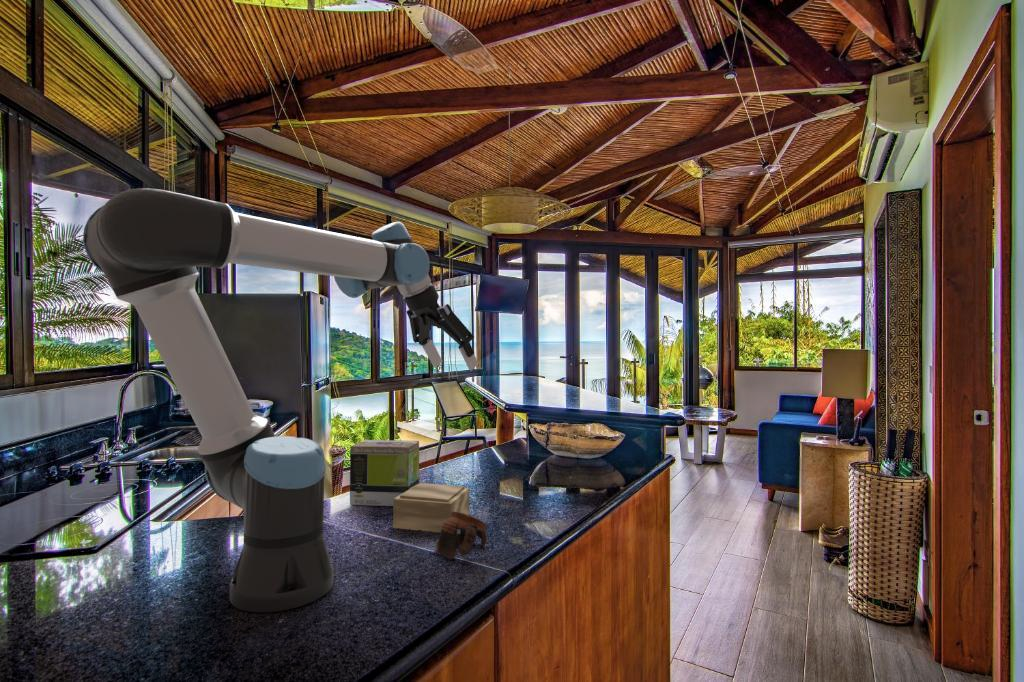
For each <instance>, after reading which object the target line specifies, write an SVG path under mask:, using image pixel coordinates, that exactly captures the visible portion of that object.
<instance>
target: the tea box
mask: <svg viewBox="0 0 1024 682" xmlns="http://www.w3.org/2000/svg"><path fill="white" fill-rule="evenodd" d="M349 451H350V452H349V455H350V456H349V461H350V462H349V505H350V506H374V507H375V506H376V507H377V506H379V507H393V506H394V498H396V497H397V496H399V495H401V494H402V493H404V492H405V491H407V490H409V489H410V488H412V487H413V486H415V485H417V484H419V483H420V441H419V440H391V439H390V440H386V439H384V440H383V439H382V440H381V439H378V440H377V439H364V440H362V441H360V442H357V443H355V444H353V445H350V449H349Z"/></svg>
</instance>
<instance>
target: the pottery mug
mask: <svg viewBox="0 0 1024 682" xmlns="http://www.w3.org/2000/svg"><path fill="white" fill-rule="evenodd" d="M486 527H487V523H485V522H484V521H483V520H480V519H479V518H477V517H475V516H472V515H470V514H469V515H467V514H464V513H460V512H452V515H451V517H450V518H448V519H447V520H446V521H445V522H444V523H443V525H442V529H441V532H440V533H439V537H438V539H437V540H436V542H435V551H434V552H435V553H438V554H440V555H442V556H444V557H446V558H450V559H452V560H455V558H456V553H457V551H458V553H459V554H460V555H461V556H466V555H469V554H471V552H472V550H473V545H474V543H475V541H476V538H477V537H478V538H479V539H480V540H481V544H480V546H481V547H482V548H484V547H486V544H487V531H486ZM458 530H459V533H458Z"/></svg>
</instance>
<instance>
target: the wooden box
mask: <svg viewBox="0 0 1024 682" xmlns="http://www.w3.org/2000/svg"><path fill="white" fill-rule="evenodd" d="M470 489H471V488H470V487H466V486H464V485H451V484H450V485H449V484H439V483H437V484H436V483H424V482H423V483H422V482H419V484H417V485H415V486H413V487H412V488H410V489H409V490H407V491H405V492H404V493H402V494H401V495H399V496H397V497H396V498H394V506H392V508H393V510H392V511H393V512H392V513H393V514H392V515H393V516H392V517H393V518H392V519H393V520H392V523H393V524H392V528H393V529H398V528H399V530H400V529H401V530H409V529H410V530H411V531H418V530H422V531H421V532H428V531H432V532H431V533H438V532H439V533H438V534H440V532H441V529H442V525H443V523H444V522H445V521H446V520H447V519H448V518H450V517H451V515H452V512H460V513H464V514H467V515H470V498H471V497H470V496H471V495H470V494H471V493H470ZM410 530H409V531H410Z"/></svg>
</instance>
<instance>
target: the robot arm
mask: <svg viewBox="0 0 1024 682" xmlns="http://www.w3.org/2000/svg"><path fill="white" fill-rule="evenodd" d="M82 234H83V238H82V240H83V241H82V243H83V244H82V245H83V247H84V251H85V254H86V255H87V257H88V258H89V261H90V262H91V263H92V264H93V265H94V267H96V268H97V269H98V270H99V271H100V272H101V273H103V275H105V278H106V280H107V282H108V283H109V286H110V287H111V290H112V291H113V293H114V294H115V297H116V298H117V299H118V300H120V301H123V302H125V303H128V304H131V305H132V306H133V307H134V308H135V310H136V312H137V314H138V315H139V318H140V320H141V322H142V323H143V325H144V327H145V329H146V330H147V331H146V332H147V333H148V335H149V338H150V339H151V341H152V343H153V345H154V347H155V349H156V351H157V352H158V354H159V356H160V358H161V360H162V361H163V364H164V366H165V368H166V370H167V371H168V374H169V376H170V377H171V379H172V380H173V381H172V382H173V383H174V385H175V387H176V389H177V391H178V393H179V395H180V397H181V399H182V400H183V402H184V405H185V406H186V408H187V410H188V412H189V413H190V415H191V417H192V420H193V422H194V424H195V426H196V427H197V430H198V432H199V434H200V435H201V438H202V439H201V441H200V442H199V445H198V447H197V452H198V454H199V456H200V458H201V461H202V462H203V464H204V475H205V479H206V481H207V483H208V486H209V487H210V489H211V490H212V491H213V493H214V494H216V495H217V496H218V497H219V498H221V499H222V500H224V501H227V502H229V503H231V504H233V505H234V506H237V507H239V508H240V509H242V510H243V544H242V550H241V552H240V554H239V558H238V560H237V562H236V566H235V568H234V572H233V575H232V577H231V580H230V583H229V602H230V604H231V605H232V606H233V607H234V608H236V609H239V610H241V611H245V612H249V613H273V612H282V611H288V610H291V609H296V608H299V607H304V606H305V605H308V604H310V603H313V602H315V601H317V600H319V599H321V598H323V596H325V595H327V594H328V593H329V592H330V590H331V589H332V587H333V586H334V573H335V572H334V566H333V563H332V562H331V558H330V554H329V551H328V547H327V545H326V541H325V538H324V511H325V510H324V507H325V505H324V504H325V496H324V495H325V474H326V462H325V452H324V449H323V447H322V445H320V443H319V442H316V441H314V440H312V439H310V438H306V437H296V436H287V435H286V436H284V435H283V436H280V435H279V436H276V435H275V433H274V431H273V428H272V426H271V424H270V422H269V420H268V418H267V417H264V416H260V415H258V414H255V413H254V411H253V408H252V406H251V405H250V402H249V401H248V398H247V396H246V393H245V392H244V389H243V388H242V386H241V383H240V381H239V379H238V377H237V375H236V373H235V370H234V369H233V367H232V364H231V361H230V359H229V358H228V356H227V354H226V352H225V350H224V347H223V345H222V343H221V342H220V339H219V336H218V335H217V332H216V330H215V329H214V326H213V324H212V322H211V321H210V319H209V316H208V314H207V312H206V310H205V308H204V306H203V304H202V300H201V299H200V297H199V294H198V293H197V291H196V289H195V284H196V282H197V279H198V277H199V275H200V273H199V271H198V269H197V268H198V267H201V268H212V269H223V268H225V267H226V266H227V265H229V264H236V265H241V266H242V265H243V266H249V267H250V266H251V267H259V268H264V269H265V268H267V269H274V270H281V271H288V272H298V273H307V274H314V275H320V276H321V275H322V276H328V277H329V276H331V277H333V278H334V281H335V283H336V285H337V288H338V289H339V290H340V291H341V293H343V294H344V295H346V296H347V297H349V298H352V299H355V298H359V297H360V296H363V295H366V294H367V292H369V291H371V290H373V289H380V288H382V289H383V288H388V287H395V286H396V288H397V289H398V291H399V293H400V294H401V296H403V298H402V299H403V300H404V302H405V304H406V306H407V308H408V310H406V314H407V316H408V319H409V325H410V329H411V335H412V336H411V337H412V340H413V343H414V344H417V343H418V344H419V346H422V348H423V350H424V352H425V354H426V356H427V358H428V359H429V361H430V363H431V365H432V368H437V367H438V366H439V365H440V364H442V363H443V359H442V357H441V356H440V354H439V352H438V350H437V348H436V345H435V344H434V342H433V340H432V339H431V337H430V333H431V331H430V330H431V326H432V327H436V328H437V329H441V330H442V331H443V332H444V333H445V334H447V336H448V337H449V338H451V339H452V340H453V341H454V342H455V343H457V344H458V347H457V349H459V352H460V354H461V356H462V358H463V359H464V362H465V364H466V366H467V368H468V369H469V371H473V370H474V369H475V368H476V367H478V365H479V361H478V359H477V357H476V355H475V351H474V349H473V346H472V344H471V343H470V342H471V341H472V340H473V339H474V338H475V336H474V334H472V333H471V331H470V330H469V328H467V326H466V325H465V324H464V323H463V322H462V320H460V319H459V317H458V316H457V315H456V314H455V313H454V311H453V309H452V308H451V305H450V304H448V303H446V304H445V305H443V306H441V305H440V304H439V303H438V301H439V297H440V296H439V293H438V291H437V289H436V287H435V286H434V283H432V279H431V277H430V275H429V272H430V263H431V262H430V258H429V255H428V253H427V251H426V250H425V249H424V247H423V246H421V245H420V244H417V243H414V241H413V238H412V236H411V235H410V233H409V231H408V230H407V228H406V226H405V225H404V223H403V222H401V221H393V222H391V223H388V224H386V225H384V226H381V227H379V228H378V229H376V230H375V231H373V232H372V233H371V238H372V239H370V238H364V237H360V236H358V237H357V236H353V235H349V234H343V233H338V232H333V231H329V230H325V229H318V228H314V227H310V226H304V225H299V224H294V223H289V222H284V221H279V220H274V219H269V218H264V217H259V216H253V215H250V214H246V213H245V214H244V213H239V212H235V211H234V210H233V209H232V208H231V206H230V205H229V204H228V203H224V202H220V201H214V200H209V199H207V198H201V197H197V196H193V195H189V194H184V193H178V192H175V191H170V190H165V189H158V188H150V187H148V188H147V187H145V188H144V187H141V188H131V189H127V190H123V191H121V192H119V193H117V194H114V196H111V198H110V199H109V200H108V201H106V203H105V204H103V205H102V206H100V207H99V208H97V209H96V210H95V211H94V212H93V213H92V214H91V215H90V216H89V217H88V218H87V221H86V224H85V225H84V228H83V233H82Z"/></svg>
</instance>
